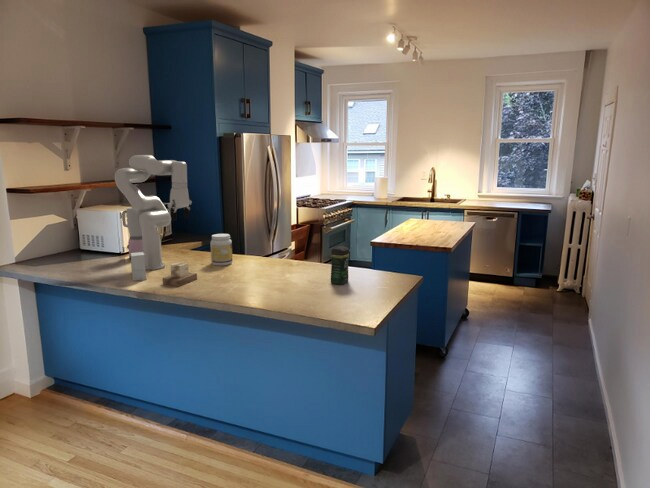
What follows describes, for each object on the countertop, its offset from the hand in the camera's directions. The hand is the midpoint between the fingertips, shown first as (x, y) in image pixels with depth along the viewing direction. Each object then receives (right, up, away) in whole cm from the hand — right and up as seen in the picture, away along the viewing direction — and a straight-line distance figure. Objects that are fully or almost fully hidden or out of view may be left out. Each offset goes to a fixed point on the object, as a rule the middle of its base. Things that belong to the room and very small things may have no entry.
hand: (180, 218), depth 249 cm
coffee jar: (+83, -33, -8) cm, 90 cm away
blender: (-39, -22, +42) cm, 61 cm away
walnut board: (+2, -32, -8) cm, 33 cm away
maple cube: (+2, -29, -9) cm, 31 cm away
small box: (-20, -31, -3) cm, 37 cm away
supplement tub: (+15, -25, +30) cm, 42 cm away
